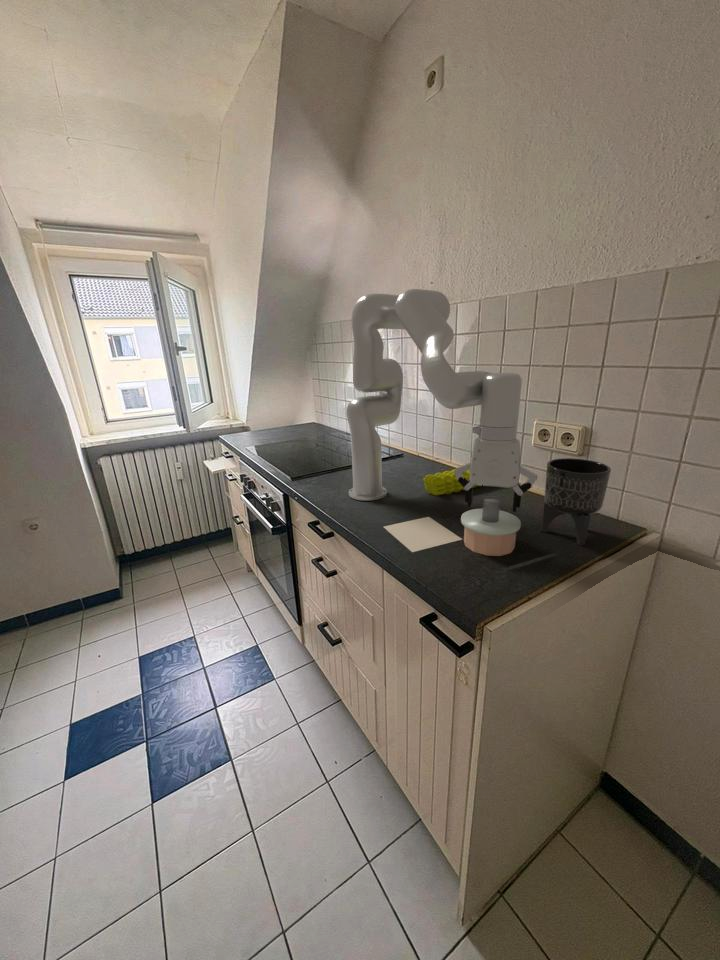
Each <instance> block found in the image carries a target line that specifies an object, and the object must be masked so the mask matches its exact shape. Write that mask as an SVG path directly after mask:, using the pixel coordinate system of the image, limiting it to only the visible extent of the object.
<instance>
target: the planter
mask: <svg viewBox="0 0 720 960" xmlns="http://www.w3.org/2000/svg"><path fill="white" fill-rule="evenodd" d="M545 471H546V475H545V488H544V502H543V514H542V525H541V532H542V533H548V530H549V527H550V525H551V523H552V521H554V520H555V519H556V518H557V517H559V516H563V515H565V514H567V515H570V517H572V519H573V521H574V530H576V542H575V543H576V545H578V546H585V545H586V541H587V537H588V530H589V526H590V521H591V516H592V515H591V514H596V513H598V512H600V511H601V509H602V508H603V506H604V501H605V496H606V493H607V488H608V485H609V480H610V475H611V471H612V468H611V467H610V466H609V465H607V464H605V463H602V462H599V461H595V460H590V459H584V458H583V459H582V458H571V457H569V458H567V457H565V458H564V457H563V458H555V459H551V460H548V462H547V463H546V470H545Z"/></svg>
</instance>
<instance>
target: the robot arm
mask: <svg viewBox="0 0 720 960" xmlns="http://www.w3.org/2000/svg"><path fill="white" fill-rule="evenodd" d="M450 313H451V305H450V302H449V299H448V297H447V296H446V295H445V294H444V293H443V292H440V291H438V290H431V289H430V290H429V289H420V288H411V289H407V290H405V291H403V292H402V293H401V294H400V295H399V294H389V293H369V294H365V295H363V296H361V297H360V298H359V299H357V301H356V303H354V306H353V309H352V312H351V328H352V329H351V330H352V334H353V335H352V336H353V362H352V363H353V364H352V366H353V368H352V383H353V387H354V388H355V390H356V391H357V392H360V393H363V394H364V393H366V394H367V393H375V392H376V393H377V392H378V395H376V394H375V395H367V396H366V395H365V396H360V397H356V398H353V399H352V400H351V401H350V402H349V403H348V405H347V406H346V411H345V412H346V419H347V423H348V426H349V427H348V428H349V433H350V447H351V464H352V465H351V469H352V488H350V489H349V490H348V496H349V498H352V499H353V500H357V501H364V502H365V501H367V502H369V501H378V500H380V499H383V498H385V497H386V496H387V494H388V490H387V488H385V487H384V486H383V476H382V475H383V469H382V468H383V462H382V461H383V459H382V458H383V457H382V452H383V451H382V439H381V437H380V434H379V433H378V431H377V430H376V428H377V427H380V426H387V425H390V424H393V423H395V422H396V421H397V420H398V418H399V416H400V412H401V405H402V396H403V395H402V394H403V387H404V373H403V369H402V367H401V365H400V363H399V362H398V361H397V360H395V359H393V358H384V340H383V338H382V336H381V334H380V333H381V332H379V330H383V329H384V330H405V331H406V333H407V334H408V335H409V337H410V339H411V340H412V341H413V343H414V344H415V346H416V347H417V348H418V350H419V351H420V353H421V358H420V370H421V377H422V379H423V381H424V383H425V385H426V387H427V389H428V390H429V391H430V393H431V395H432V396H433V398H434V399H435V400H436V401H437V402H438V403H439V404H440V405H441V406H442V407H445V408H446V409H449V410H456V409H462V408H469V407H477V406H480V417H479V418H480V419H479V425H477V426H472V429H471V430H472V431H471V432H472V434H476V435H477V436H478V437H476V438H475V440H474V443H473V447H472V452H471V457H470V462H469V463H466V464H463V465H461V466H459V467H457V468H454V469H455V470H454V473H455V475H456V477H457V479H458V482H459V483H460V484H461V485H462V486H463V487H464V489H465V490H464V491H465V495H464V498H465V499H464V502H465V503H467V508H471V507H472V504H473V493H474V488H472V487H473V486H474V485H483V486H482V487H494V488H495V487H497V488H508V489H509V488H510V489H511V488H512V489H513V491H514V492H513V501H512V512H513V513H517V508H518V509H519V508H521V501H522V496H523V495H524V493H526V492H527V491H529V490H530V489H531V488H532V487H533V485H534V484H535V482H536V481H537V480H538V475H537V473H535V472H533V471H531V470H529V469H527V468H526V467H523V466H522V465H521V456H522V455H521V442H520V439H518V438H517V434H518V423H519V412H520V402H521V395H522V393H521V392H522V385H523V384H522V381H523V380H522V379H523V378H522V377H521V375H520V374H518V373H515V372H494V373H493V372H488V371H485V370H484V371H483V370H475V371H474V370H473V371H459V372H456V371H455V370H454V369H453V368H452V366H451V365H450V363H449V362H448V360H447V359H446V357H445V355H444V352H445V351H446V350H448V348H449V347H450V346H451V344H452V342H453V340H454V336H455V333H454V330H453V328H452V327H451V325H450V324H449V323H448V322H447V321H448V319H449V317H450ZM468 470H470V480H469V481H467V480H466V479H465V478H464V477H463V475H462V473H463V472H465V471H468ZM520 475H522V476H524V477H526V478H527V480H526V482H524V483H522V484H520V482H519V481H520Z"/></svg>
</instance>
